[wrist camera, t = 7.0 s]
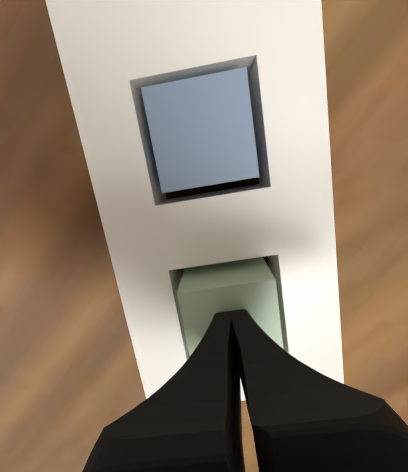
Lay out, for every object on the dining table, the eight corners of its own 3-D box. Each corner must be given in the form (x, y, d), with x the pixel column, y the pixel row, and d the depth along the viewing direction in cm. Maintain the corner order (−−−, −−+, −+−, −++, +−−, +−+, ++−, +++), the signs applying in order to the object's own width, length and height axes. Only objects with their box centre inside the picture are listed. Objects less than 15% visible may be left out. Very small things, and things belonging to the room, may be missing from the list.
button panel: (160, 370, 17) (149, 410, 14) (38, -155, 11) (-23, -269, 8) (320, 350, 16) (344, 389, 13) (275, -220, 11) (299, -368, 8)
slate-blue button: (172, 189, 14) (161, 193, 11) (157, 106, 13) (140, 87, 10) (249, 176, 14) (259, 176, 11) (239, 91, 13) (246, 66, 10)
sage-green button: (197, 336, 15) (193, 376, 12) (184, 268, 14) (176, 293, 11) (271, 327, 14) (285, 366, 12) (262, 256, 14) (275, 279, 11)
